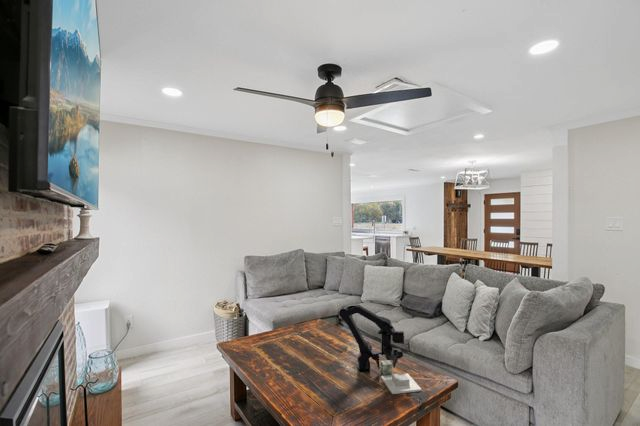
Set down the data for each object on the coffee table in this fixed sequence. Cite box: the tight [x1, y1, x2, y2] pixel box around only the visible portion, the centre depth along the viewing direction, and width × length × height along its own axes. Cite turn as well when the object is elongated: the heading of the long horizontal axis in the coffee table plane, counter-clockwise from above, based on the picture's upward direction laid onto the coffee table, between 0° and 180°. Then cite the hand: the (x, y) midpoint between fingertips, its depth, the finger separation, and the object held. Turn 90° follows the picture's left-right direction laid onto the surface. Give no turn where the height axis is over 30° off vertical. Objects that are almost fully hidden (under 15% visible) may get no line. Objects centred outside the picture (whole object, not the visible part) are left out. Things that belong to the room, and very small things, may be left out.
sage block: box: [380, 359, 393, 376], centre depth 184 cm, size 5×5×6 cm
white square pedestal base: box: [381, 372, 422, 395], centre depth 171 cm, size 16×16×4 cm
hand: (386, 368), depth 184 cm, fingers open, 9 cm apart
